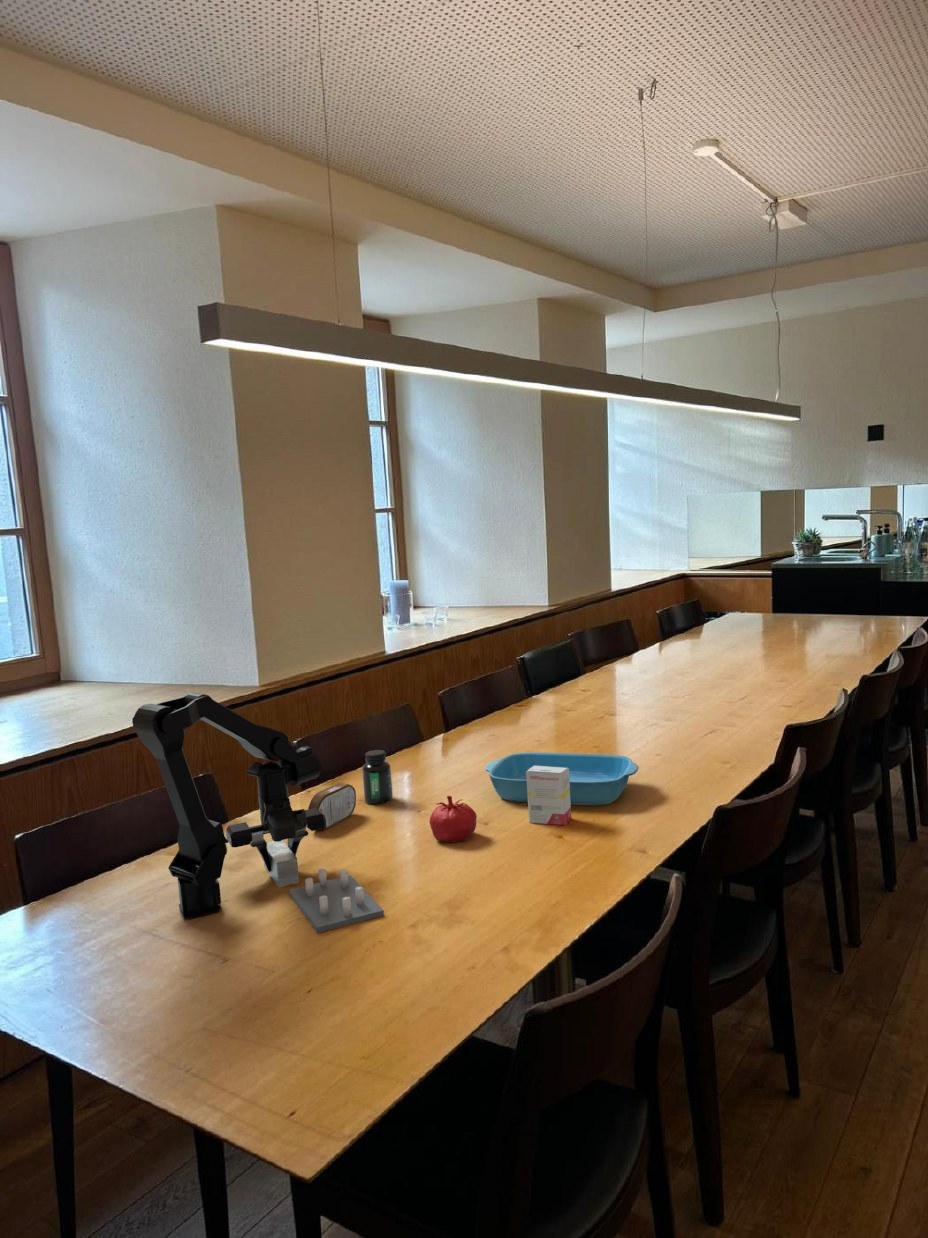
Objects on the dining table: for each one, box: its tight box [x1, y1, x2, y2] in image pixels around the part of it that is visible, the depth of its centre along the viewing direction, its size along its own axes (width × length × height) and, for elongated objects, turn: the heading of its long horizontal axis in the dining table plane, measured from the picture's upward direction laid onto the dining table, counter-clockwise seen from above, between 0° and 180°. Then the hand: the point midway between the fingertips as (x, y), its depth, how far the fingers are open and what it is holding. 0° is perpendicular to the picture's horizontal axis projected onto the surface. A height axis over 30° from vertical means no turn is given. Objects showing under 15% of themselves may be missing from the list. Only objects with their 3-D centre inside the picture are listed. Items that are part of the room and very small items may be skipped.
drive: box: [263, 840, 300, 888], centre depth 180 cm, size 4×12×5 cm, turn 25°
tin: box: [307, 782, 357, 830], centre depth 208 cm, size 15×3×8 cm, turn 150°
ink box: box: [526, 766, 572, 826], centre depth 201 cm, size 9×5×12 cm, turn 67°
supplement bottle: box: [361, 749, 394, 806], centre depth 222 cm, size 7×7×12 cm
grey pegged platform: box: [289, 868, 385, 934], centre depth 165 cm, size 12×18×4 cm, turn 25°
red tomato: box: [429, 795, 478, 843], centre depth 194 cm, size 10×10×9 cm
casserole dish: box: [484, 751, 639, 806], centre depth 219 cm, size 37×22×7 cm, turn 70°
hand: (280, 868), depth 181 cm, fingers closed on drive, 4 cm apart
